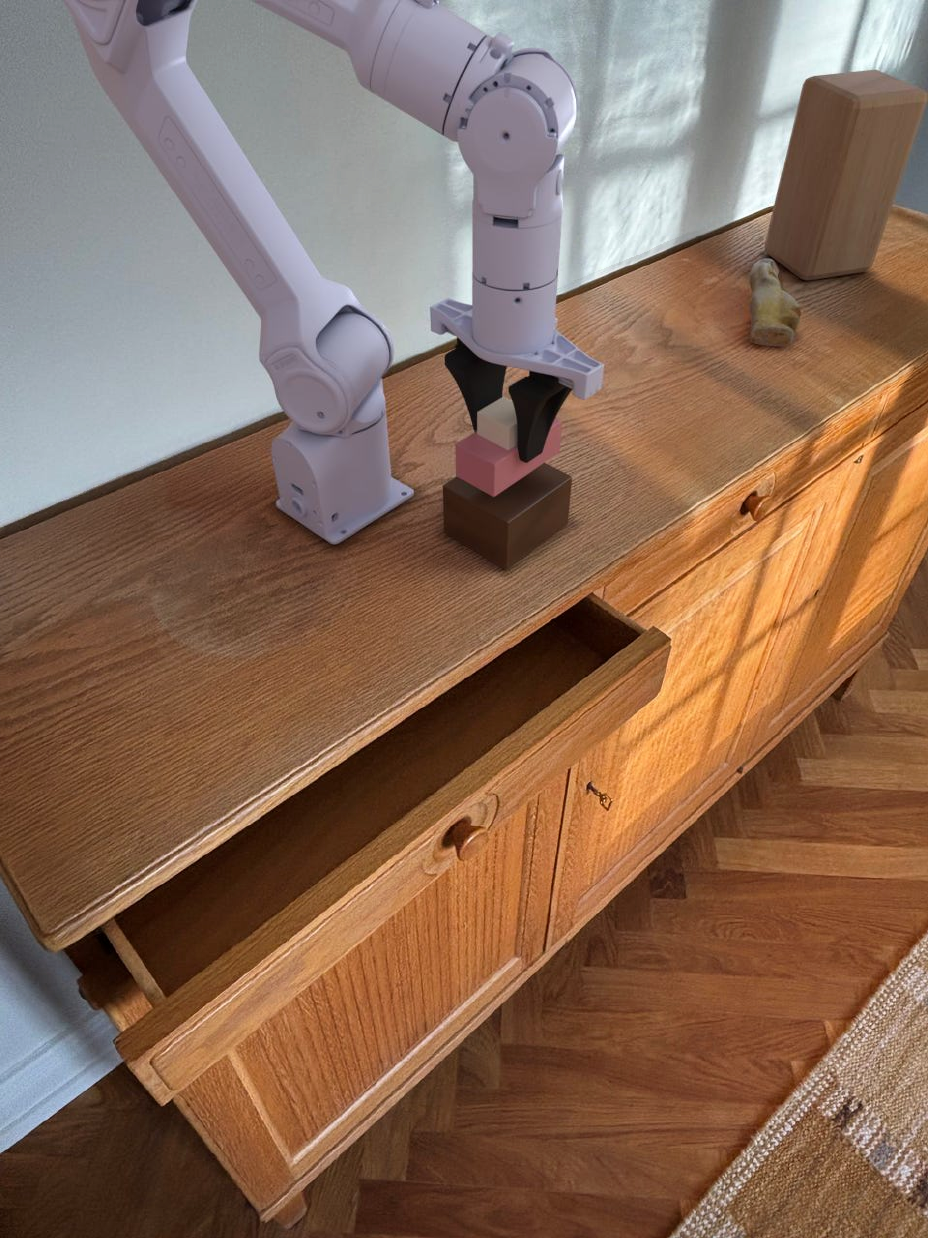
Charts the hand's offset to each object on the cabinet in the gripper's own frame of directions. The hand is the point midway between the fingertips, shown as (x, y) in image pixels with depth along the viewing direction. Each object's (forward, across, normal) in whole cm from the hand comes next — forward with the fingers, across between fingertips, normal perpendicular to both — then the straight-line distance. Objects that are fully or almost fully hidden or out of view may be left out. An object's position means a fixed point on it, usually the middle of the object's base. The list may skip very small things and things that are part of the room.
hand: (509, 444), depth 67 cm
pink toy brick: (+2, 0, 0) cm, 2 cm away
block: (+9, +6, -66) cm, 67 cm away
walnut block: (+8, 0, 0) cm, 8 cm away
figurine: (+9, +3, -49) cm, 50 cm away
